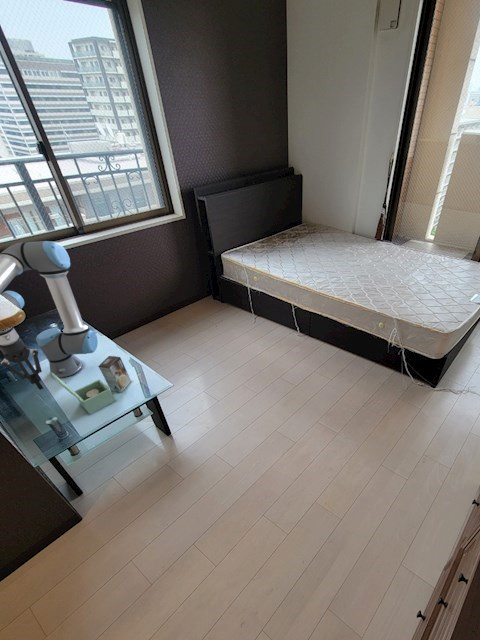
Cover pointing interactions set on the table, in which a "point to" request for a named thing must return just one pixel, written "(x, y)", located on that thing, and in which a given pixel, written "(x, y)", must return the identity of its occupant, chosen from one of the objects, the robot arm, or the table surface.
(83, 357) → the table surface
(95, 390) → the coffee pod
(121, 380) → the coffee box
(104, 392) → the pale green cubby
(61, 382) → the lid
